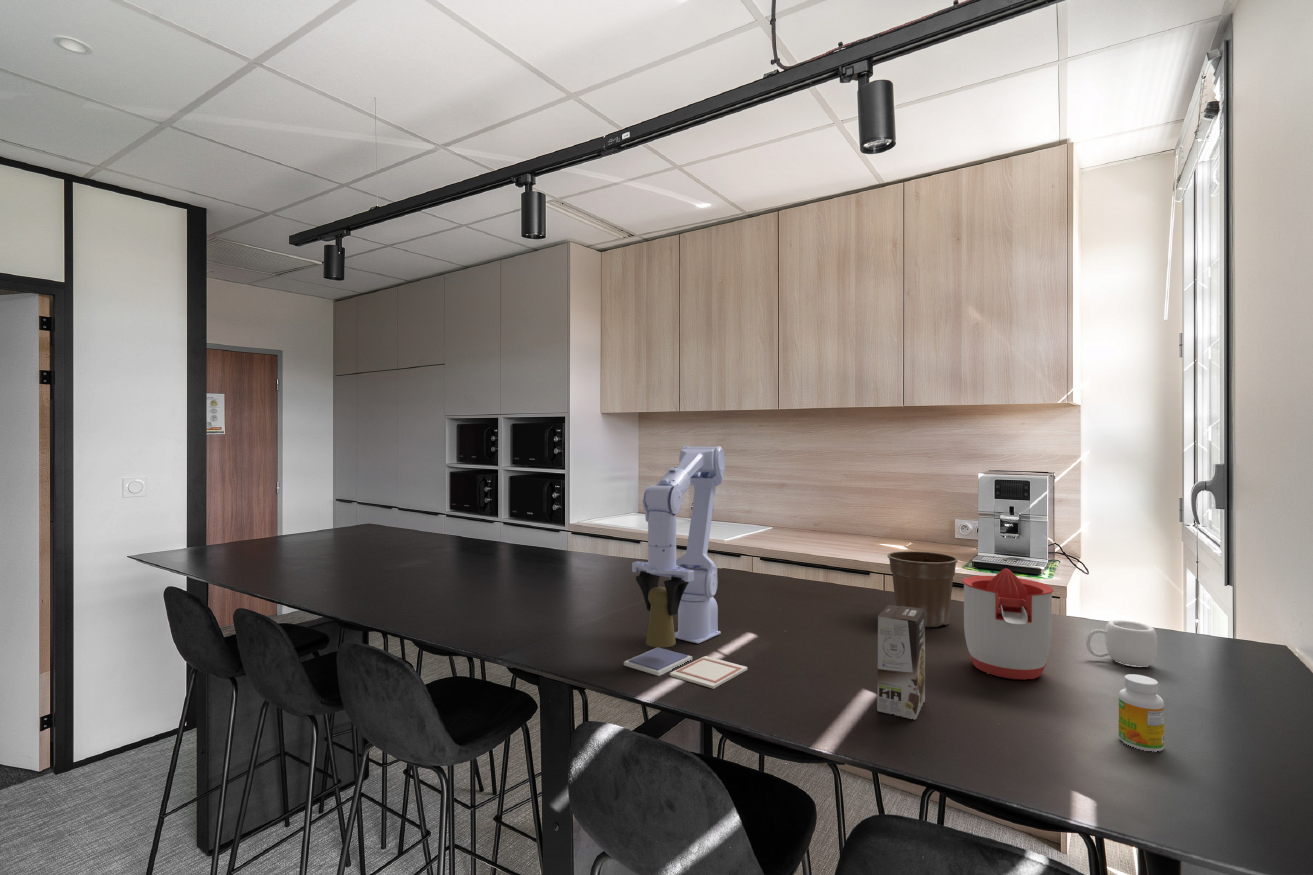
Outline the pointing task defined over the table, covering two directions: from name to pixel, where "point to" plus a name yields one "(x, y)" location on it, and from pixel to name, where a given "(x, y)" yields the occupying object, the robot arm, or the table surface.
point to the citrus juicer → (1008, 624)
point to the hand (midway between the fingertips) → (662, 611)
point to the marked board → (708, 671)
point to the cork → (660, 620)
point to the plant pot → (924, 583)
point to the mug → (1128, 642)
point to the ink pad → (657, 661)
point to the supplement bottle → (1141, 714)
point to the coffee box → (901, 661)
